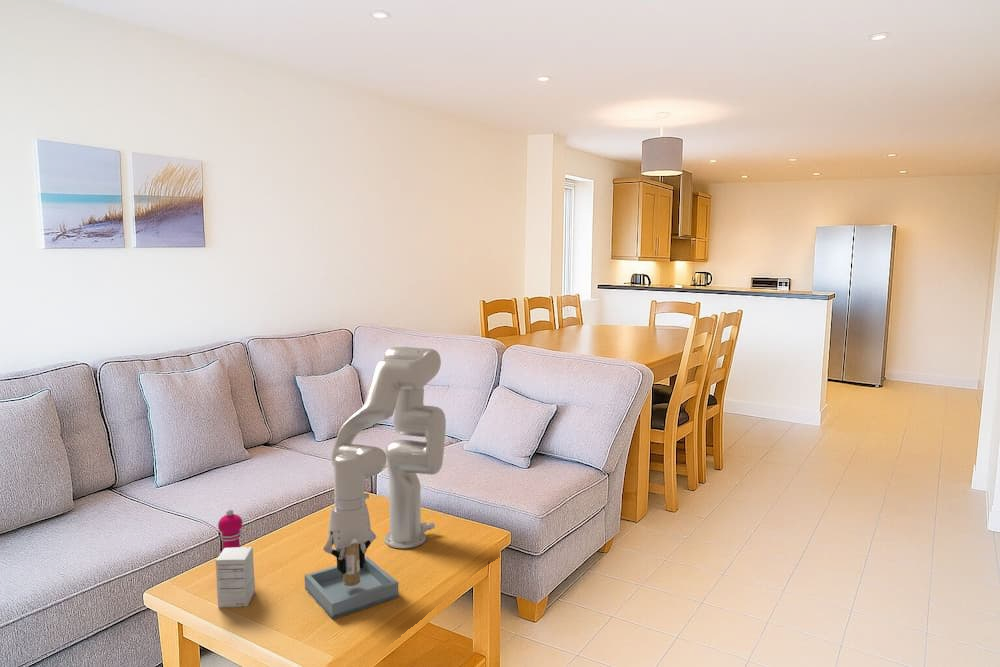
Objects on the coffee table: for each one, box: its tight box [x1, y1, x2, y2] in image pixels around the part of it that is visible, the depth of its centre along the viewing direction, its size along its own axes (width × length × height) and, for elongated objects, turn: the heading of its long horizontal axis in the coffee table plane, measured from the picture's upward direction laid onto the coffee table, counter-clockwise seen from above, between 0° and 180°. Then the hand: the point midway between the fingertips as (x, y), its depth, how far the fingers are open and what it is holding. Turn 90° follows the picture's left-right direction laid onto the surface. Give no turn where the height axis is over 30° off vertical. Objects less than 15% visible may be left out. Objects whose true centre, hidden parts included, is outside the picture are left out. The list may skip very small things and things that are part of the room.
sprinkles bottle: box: [343, 539, 360, 586], centre depth 173 cm, size 5×5×13 cm
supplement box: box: [215, 546, 256, 608], centre depth 169 cm, size 7×7×13 cm
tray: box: [304, 556, 399, 620], centre depth 174 cm, size 18×18×4 cm
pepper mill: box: [217, 508, 243, 552], centre depth 179 cm, size 7×7×20 cm
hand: (351, 568), depth 173 cm, fingers closed on sprinkles bottle, 4 cm apart
